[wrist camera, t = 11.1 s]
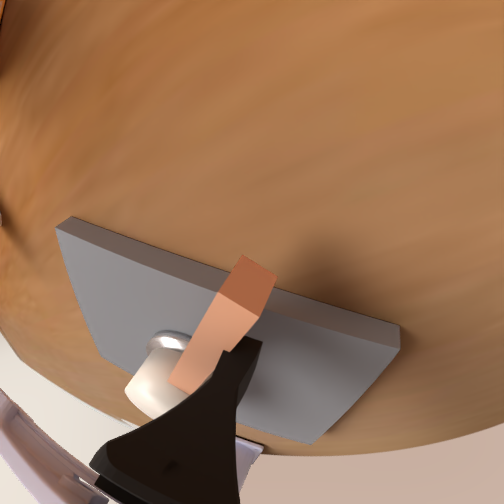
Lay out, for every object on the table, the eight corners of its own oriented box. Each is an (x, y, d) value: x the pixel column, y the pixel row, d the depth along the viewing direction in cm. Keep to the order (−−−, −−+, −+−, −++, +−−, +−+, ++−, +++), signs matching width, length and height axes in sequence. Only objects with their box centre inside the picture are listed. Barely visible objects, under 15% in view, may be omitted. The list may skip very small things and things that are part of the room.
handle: (208, 405, 18) (190, 440, 15) (145, 367, 18) (123, 399, 16) (321, 303, 10) (303, 373, 7) (197, 227, 10) (146, 278, 8)
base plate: (315, 429, 20) (308, 452, 19) (109, 345, 24) (96, 361, 23) (399, 325, 12) (400, 361, 11) (71, 216, 16) (47, 232, 14)
